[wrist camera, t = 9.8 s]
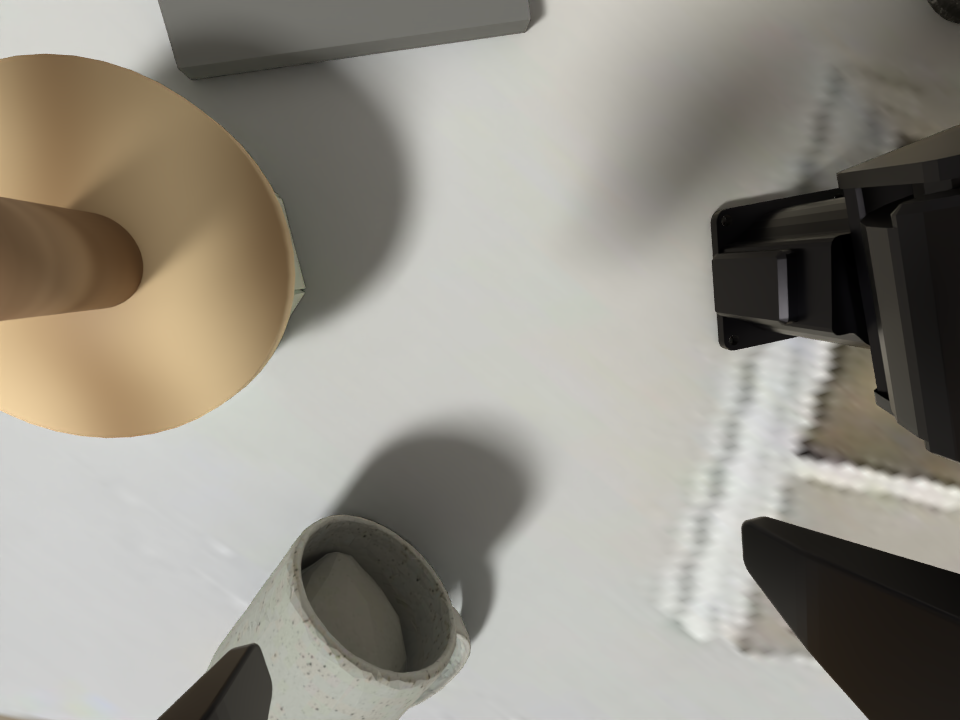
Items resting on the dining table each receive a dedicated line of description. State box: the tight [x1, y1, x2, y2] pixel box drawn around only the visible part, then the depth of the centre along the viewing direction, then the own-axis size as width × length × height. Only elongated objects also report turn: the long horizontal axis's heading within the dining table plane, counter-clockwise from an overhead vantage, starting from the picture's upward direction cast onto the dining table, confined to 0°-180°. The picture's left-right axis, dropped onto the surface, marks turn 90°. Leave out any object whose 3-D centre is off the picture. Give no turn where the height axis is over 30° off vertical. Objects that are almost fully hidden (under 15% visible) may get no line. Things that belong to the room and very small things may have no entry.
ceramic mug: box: [206, 515, 471, 720], centre depth 19 cm, size 11×8×8 cm
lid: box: [0, 54, 295, 438], centre depth 12 cm, size 11×11×5 cm
